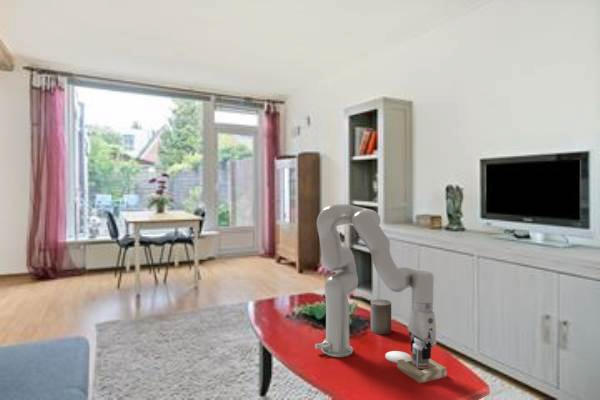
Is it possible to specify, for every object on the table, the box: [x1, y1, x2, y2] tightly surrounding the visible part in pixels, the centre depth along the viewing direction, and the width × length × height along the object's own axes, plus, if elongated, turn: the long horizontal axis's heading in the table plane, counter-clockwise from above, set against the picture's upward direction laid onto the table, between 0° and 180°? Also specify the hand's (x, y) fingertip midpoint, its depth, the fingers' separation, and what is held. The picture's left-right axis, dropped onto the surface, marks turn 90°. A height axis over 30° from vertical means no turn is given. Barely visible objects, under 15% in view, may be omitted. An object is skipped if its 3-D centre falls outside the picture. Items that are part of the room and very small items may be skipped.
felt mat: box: [384, 350, 412, 364], centre depth 150 cm, size 10×10×1 cm
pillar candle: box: [370, 298, 392, 335], centre depth 179 cm, size 10×10×15 cm
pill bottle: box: [411, 336, 429, 370], centre depth 138 cm, size 6×6×10 cm
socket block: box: [396, 356, 447, 384], centre depth 138 cm, size 12×12×3 cm
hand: (420, 354), depth 138 cm, fingers closed on pill bottle, 5 cm apart
